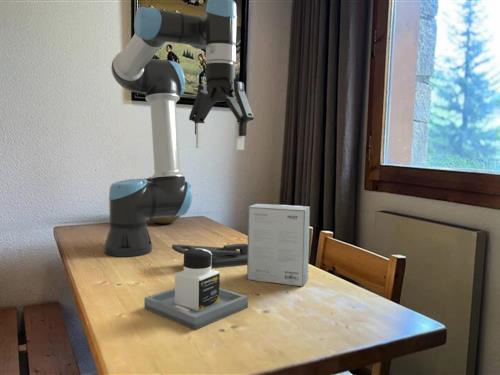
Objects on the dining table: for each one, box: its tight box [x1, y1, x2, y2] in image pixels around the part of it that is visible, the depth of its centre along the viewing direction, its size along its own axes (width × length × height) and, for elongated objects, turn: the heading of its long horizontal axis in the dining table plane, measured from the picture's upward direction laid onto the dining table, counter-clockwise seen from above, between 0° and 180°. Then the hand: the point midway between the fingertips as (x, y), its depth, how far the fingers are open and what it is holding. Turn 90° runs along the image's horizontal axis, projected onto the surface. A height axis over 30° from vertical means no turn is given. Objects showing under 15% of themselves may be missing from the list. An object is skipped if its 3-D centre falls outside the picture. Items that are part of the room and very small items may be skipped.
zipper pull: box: [171, 242, 248, 269], centre depth 132 cm, size 9×7×25 cm
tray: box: [144, 287, 249, 331], centre depth 97 cm, size 16×16×2 cm
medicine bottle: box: [174, 249, 221, 312], centre depth 97 cm, size 7×7×12 cm
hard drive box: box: [246, 203, 311, 287], centre depth 118 cm, size 16×8×20 cm, turn 71°
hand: (219, 148), depth 113 cm, fingers open, 13 cm apart
